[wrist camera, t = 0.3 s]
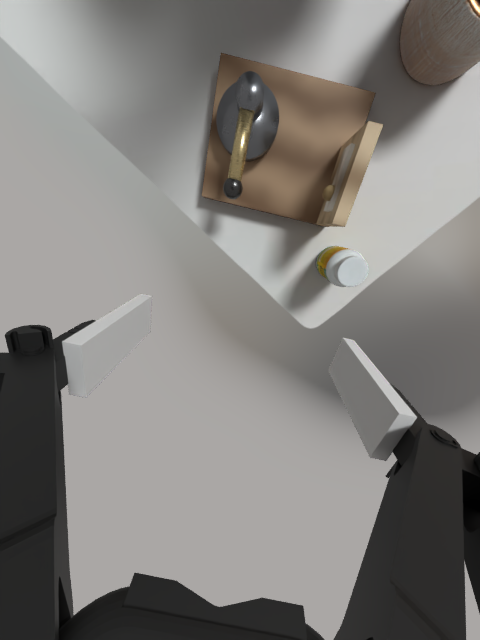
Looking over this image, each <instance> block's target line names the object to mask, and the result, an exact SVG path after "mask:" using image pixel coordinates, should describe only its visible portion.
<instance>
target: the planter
mask: <svg viewBox="0 0 480 640" xmlns="http://www.w3.org/2000/svg"><path fill="white" fill-rule="evenodd" d="M400 53H401V58H402V62H403V65H404V67H405V69H406V71H407V72H408V74H409V75H410V76H411V77H412V78H413V79H415V80H416V81H418V82H419V83H422V84H426V85H439V84H443V83H446V82H449V81H451V80H453V79H455V78H457V77H459V76H460V75H462V74H463V73H465V72H466V71H467V70H469V69H470V68H471V67H473V66H474V65H475V64H477V63H478V62H479V61H480V0H411V2H410V4H409V6H408V8H407V11H406V13H405V16H404V19H403V23H402V28H401V34H400Z"/></svg>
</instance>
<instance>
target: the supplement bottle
mask: <svg viewBox="0 0 480 640" xmlns="http://www.w3.org/2000/svg"><path fill="white" fill-rule="evenodd" d="M316 267H317V270H318V272H319V273H320V274H321V275H322V276H323V277H325V278H326V279H327V280H328V281H330V282H331V283H332V284H334V285H336V286H340V287H346V286H347V287H354V286H357V285H359V284H361V283H362V282H363V281H364V280H365V279H366V277H367V275H368V272H369V267H368V264H367V262H366V261H365V260H364V258H363V256H362V255H361V254H360V253H359V252H357V251H355V250H352V249H348V248H343V247H339V246H331V247H327V248H325V249H324V250H323V251H322V252H321V253H320V254H319V255H318V258H317V261H316Z"/></svg>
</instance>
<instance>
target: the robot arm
mask: <svg viewBox="0 0 480 640" xmlns="http://www.w3.org/2000/svg"><path fill="white" fill-rule="evenodd" d="M151 311H152V296H150V295H145V294H139V295H138V296H136V297H135V298H133V299H131V300H130V301H128V302H127V303H125V304H123V305H121V306H120V307H118V308H117V309H115V310H113V311H111V312H110V313H109V314H107V315H105V316H103V317H102V318H100V319H98V320H97V321H95V320H91V321H87V322H84V323H81V324H80V325H78V326H76V327H74V329H73V328H72V329H71V330H69V331H68V332H66V333H64V334H62V335H60V336H59V337H57V338H55V339H52V333H51V329H50V328H48V327H46V326H41V325H28V326H21V327H18V328H14V329H12V330H10V331H8V332H7V333H6V334H5V338H6V342H7V346H8V350H9V353H0V640H324V639H323V638H322V637H321V635H320V634H318V633H317V632H316V631H315V630H314V629H313V628H311V627H310V626H309V625H307V624H306V623H305V617H304V609H303V606H301V605H296V604H291V603H286V602H281V601H276V600H271V599H265V598H260V599H255V600H250V601H246V602H241V603H237V604H232V605H228V606H223V607H217V606H214V605H212V604H211V603H209V602H208V601H206V600H205V599H203V598H202V597H200V596H199V595H197V594H196V593H194V592H193V591H191V590H190V589H188V588H186V587H185V586H183V585H182V584H180V583H179V582H177V581H174V580H169V579H164V578H159V577H154V576H149V575H144V574H139V573H134V576H133V579H132V582H131V584H130V587H125V588H121V589H118V590H115V591H112V592H110V593H107V594H106V595H104V596H102V597H100V598H98V599H96V600H95V601H93V602H92V603H90V604H89V605H87V606H86V607H84V608H83V609H81V610H80V611H79V612H78V613H77V614H75V615H74V616H73V600H72V589H71V580H70V571H69V570H70V569H69V550H68V529H67V509H66V486H65V465H64V444H63V423H62V402H61V391H60V390H61V389H62V388H64V387H65V386H66V385H67V384H68V390H69V394H70V395H74V396H79V397H85V398H86V397H87V396H88V395H89V394H90V393H91V392H92V391H93V390H94V389H95V388H96V387H97V386H98V385H99V384H100V383H101V382H102V381H103V380H104V379H105V378H106V377H107V376H108V375H109V374H110V373H111V372H112V371H113V370H114V369H115V368H116V367H117V366H118V365H119V364H120V362H122V361H123V360H124V359H125V357H127V355H128V354H130V352H131V351H132V350H133V349H134V348H135V347H136V346H137V345H138V344H139V343H140V342H141V341H142V340H143V339H144V338H145V337H146V336H147V335H148V334H149V333H150V332H151ZM328 371H329V373H330V375H331V377H332V380H333V382H334V384H335V386H336V388H337V390H338V392H339V394H340V396H341V398H342V400H343V402H344V405H345V407H346V409H347V411H348V413H349V415H350V417H351V419H352V421H353V423H354V425H355V427H356V429H357V431H358V434H359V435H360V438H361V440H362V442H363V444H364V446H365V448H366V450H367V452H368V454H369V457H370V458H375V459H379V460H384V461H386V460H387V459H388V458H389V456H390V455H391V453H392V452H393V453H394V455H395V456H396V458H397V461H396V463H395V464H394V465H393V467H392V468H391V469H390V471H389V472H388V473H387V475H386V477H388V478H389V477H390V478H389V481H388V484H387V487H386V490H385V493H384V497H383V500H382V502H381V506H380V509H379V512H378V515H377V518H376V521H375V524H374V527H373V530H372V533H371V537H370V540H369V543H368V546H367V549H366V552H365V555H364V558H363V561H362V564H361V568H360V570H359V574H358V577H357V580H356V583H355V586H354V589H353V592H352V596H351V598H350V601H349V604H348V608H347V611H346V614H345V617H344V620H343V622H342V625H341V627H340V629H339V631H338V632H337V634H336V636H335V638H334V640H466V615H465V573H464V560H465V564H466V567H467V571H468V574H469V578H470V581H471V585H472V588H473V592H474V595H475V599H476V602H477V605H478V609H479V613H480V452H479V454H478V455H476V454H473V453H471V452H469V451H466V450H464V449H462V448H461V447H460V445H459V443H458V442H457V441H456V440H455V439H454V438H453V437H452V436H451V435H450V434H448V433H447V432H445V431H444V430H442V429H440V428H438V427H436V426H433V425H430V424H427V423H426V421H425V420H424V419H423V418H422V417H421V415H420V414H419V413H418V412H417V411H416V410H415V408H414V407H413V406H411V404H410V403H409V401H408V400H406V398H405V397H404V395H403V394H402V393H401V392H400V391H399V390H398V389H397V388H395V387H394V386H393V385H392V384H390V383H389V382H388V381H387V380H386V379H385V378H384V376H383V375H382V374H381V373H380V372H379V370H378V369H377V368H376V367H375V365H374V364H373V363H372V362H371V361H370V360H369V358H368V357H367V356H366V355H365V353H364V352H363V351H362V350H361V348H360V347H359V346H358V345H357V344H356V342H355V341H354V340H350V339H346V338H342V341H341V343H340V345H339V347H338V349H337V352H336V354H335V356H334V358H333V361H332V363H331V365H330V367H329V370H328Z"/></svg>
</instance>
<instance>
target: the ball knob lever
mask: <svg viewBox="0 0 480 640" xmlns="http://www.w3.org/2000/svg"><path fill="white" fill-rule="evenodd" d="M216 124H217V130H218V134H219V137H220V139H221V142H222V144H223V146H224V148H225V149H226V151H227V152H228V153H229V154H230V155H231V161H230V167H229V173H228V178H227V179H226V180H225V182H224V184H223V192H224V194H225V196H226V197H227V198H229V199H237V198H239V197H240V195H241V194H242V191H243V186H242V183H241V180H242V175H243V170H244V164H245V162H250V161H254V160H257V159H259V158H261V157H262V156H264V155H265V154H266V153H267V152H268V151H269V149H270V148H271V147H272V145H273V143H274V141H275V138H276V135H277V130H278V125H279V108H278V104H277V101H276V98H275V96H274V94H273V93H272V91H271V90H270V88H269V87H268V86H267V85H265V84H264V83H263V81H262V79H261V77H260V76H259V75H258V74H257V73H256V72H253V71H247V72H245V73H243V74H242V75H241V76H240V77H239V78H238V80H237V82H235V83H233V84H232V85H231V86H230V87H229V88H228V89H227V90H226V91H225V93H224V94H223V96H222V98H221V100H220V102H219V105H218V109H217V116H216Z"/></svg>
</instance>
